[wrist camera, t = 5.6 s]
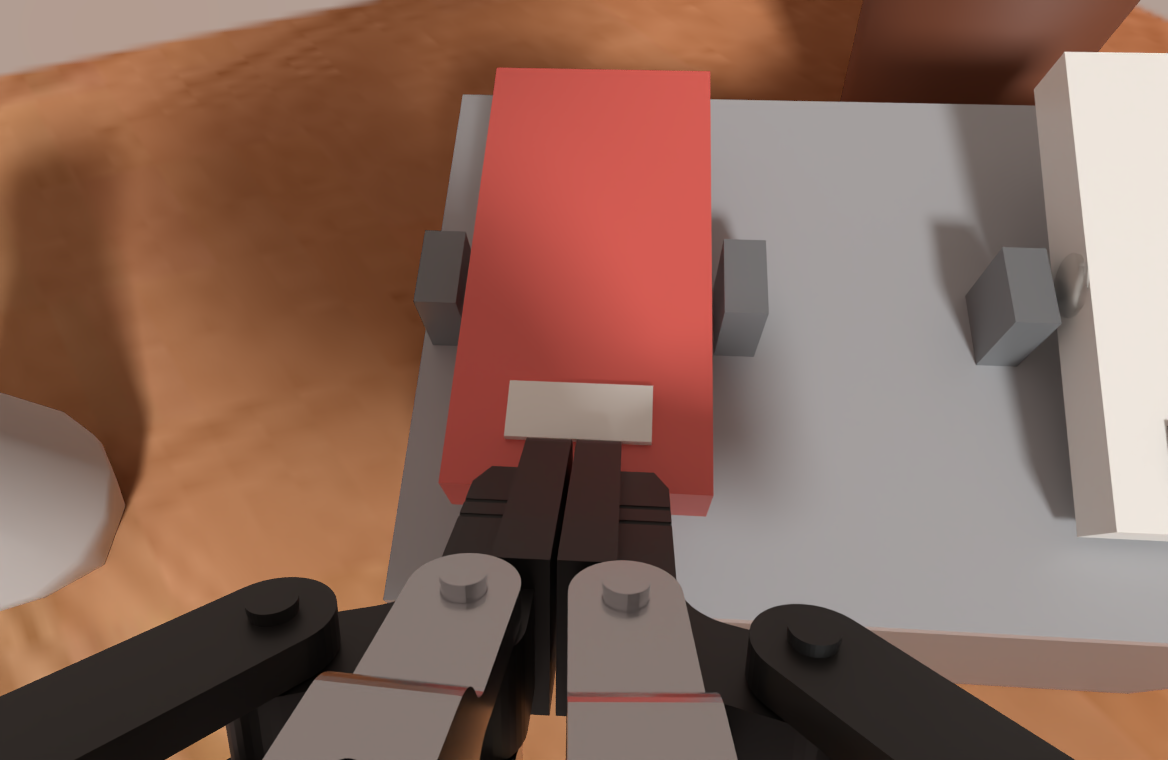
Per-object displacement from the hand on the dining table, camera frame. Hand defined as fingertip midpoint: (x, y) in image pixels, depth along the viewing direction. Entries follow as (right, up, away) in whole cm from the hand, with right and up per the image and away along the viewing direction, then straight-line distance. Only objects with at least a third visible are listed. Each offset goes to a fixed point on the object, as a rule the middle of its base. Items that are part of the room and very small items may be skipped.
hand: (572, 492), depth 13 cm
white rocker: (+11, +3, +2) cm, 12 cm away
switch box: (+6, -1, +12) cm, 13 cm away
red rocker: (0, +4, +2) cm, 5 cm away
